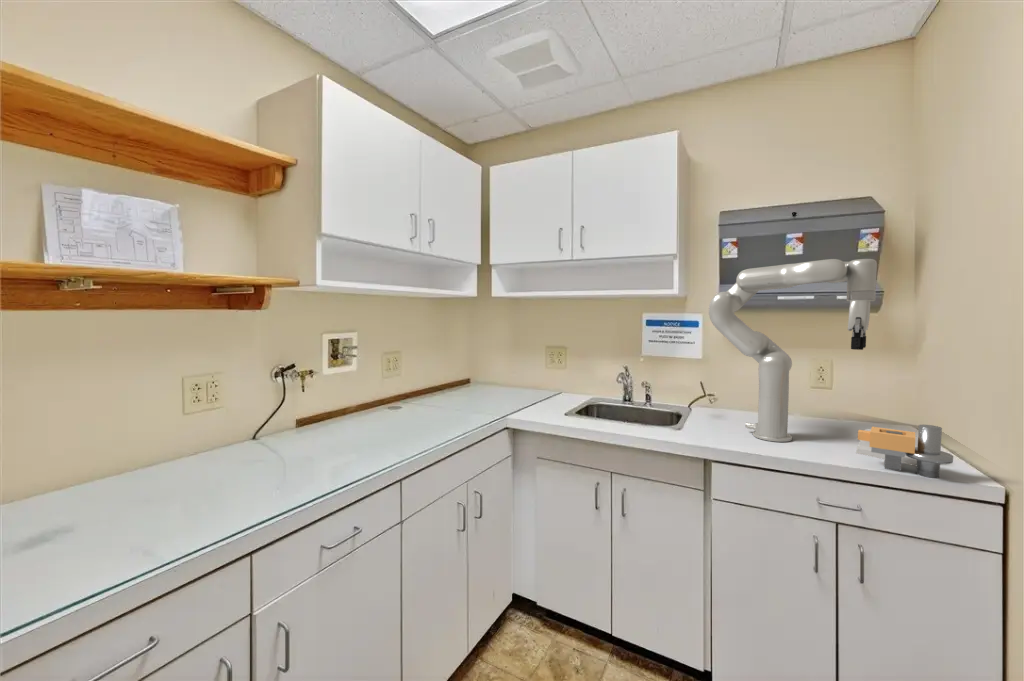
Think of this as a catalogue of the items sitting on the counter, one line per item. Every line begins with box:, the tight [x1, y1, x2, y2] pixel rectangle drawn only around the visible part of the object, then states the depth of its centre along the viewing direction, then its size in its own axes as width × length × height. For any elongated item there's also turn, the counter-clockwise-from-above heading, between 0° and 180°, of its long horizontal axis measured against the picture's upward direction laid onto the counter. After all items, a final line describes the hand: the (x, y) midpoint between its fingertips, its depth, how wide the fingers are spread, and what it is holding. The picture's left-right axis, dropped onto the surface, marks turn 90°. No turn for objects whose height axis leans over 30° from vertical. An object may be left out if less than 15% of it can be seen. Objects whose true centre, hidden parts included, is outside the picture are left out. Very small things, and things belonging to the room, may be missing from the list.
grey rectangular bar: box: [883, 431, 903, 472], centre depth 132 cm, size 4×2×11 cm, turn 52°
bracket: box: [857, 426, 916, 454], centre depth 133 cm, size 13×8×4 cm, turn 48°
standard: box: [871, 424, 954, 479], centre depth 130 cm, size 18×10×14 cm, turn 48°
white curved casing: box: [855, 428, 918, 466], centre depth 143 cm, size 17×5×10 cm, turn 36°
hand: (858, 348), depth 149 cm, fingers open, 9 cm apart
